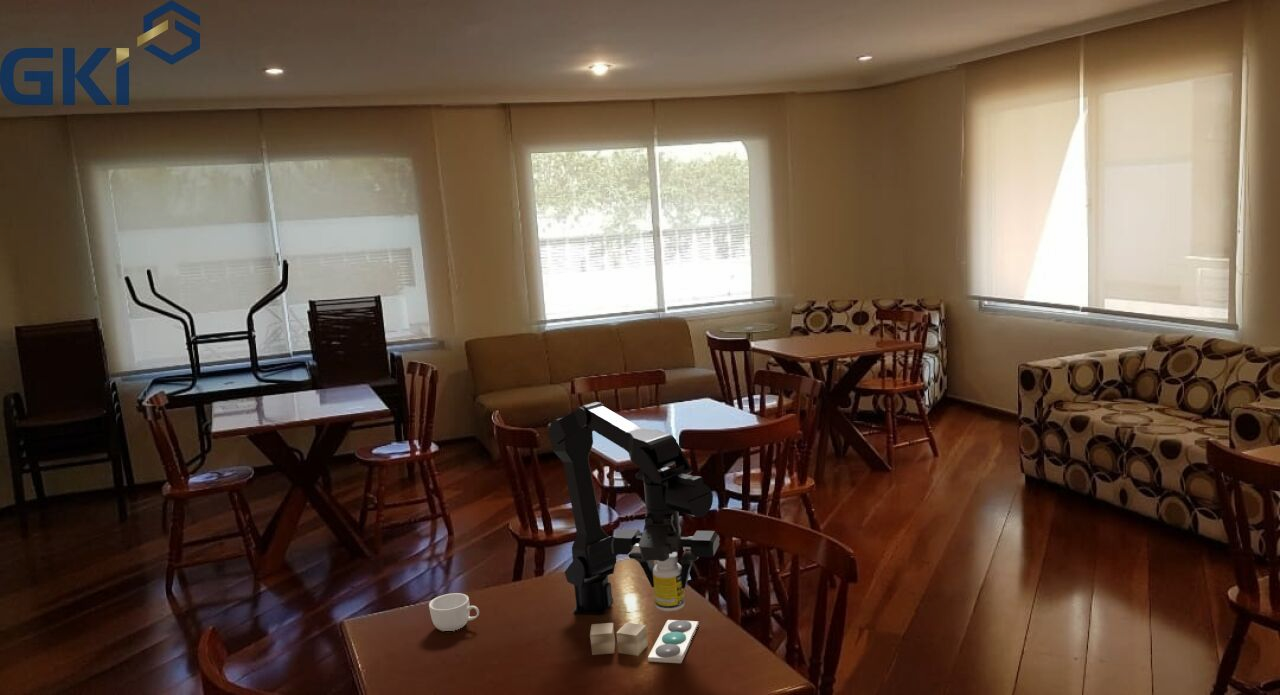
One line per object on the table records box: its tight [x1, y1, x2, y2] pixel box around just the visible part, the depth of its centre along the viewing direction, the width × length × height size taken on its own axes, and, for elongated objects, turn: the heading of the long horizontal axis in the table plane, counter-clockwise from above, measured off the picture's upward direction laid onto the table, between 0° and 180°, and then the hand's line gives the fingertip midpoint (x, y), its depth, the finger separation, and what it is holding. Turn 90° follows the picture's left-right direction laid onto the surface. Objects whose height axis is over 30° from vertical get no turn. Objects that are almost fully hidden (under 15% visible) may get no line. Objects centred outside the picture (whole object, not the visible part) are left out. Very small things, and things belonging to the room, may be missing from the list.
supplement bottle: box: [653, 552, 686, 612], centre depth 163 cm, size 5×5×10 cm
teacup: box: [428, 592, 480, 632], centre depth 179 cm, size 10×8×5 cm
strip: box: [647, 619, 699, 664], centre depth 165 cm, size 6×14×1 cm, turn 163°
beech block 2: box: [615, 622, 649, 657], centre depth 164 cm, size 4×4×4 cm
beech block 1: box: [589, 622, 616, 656], centre depth 165 cm, size 4×4×4 cm
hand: (668, 587), depth 164 cm, fingers closed on supplement bottle, 5 cm apart
